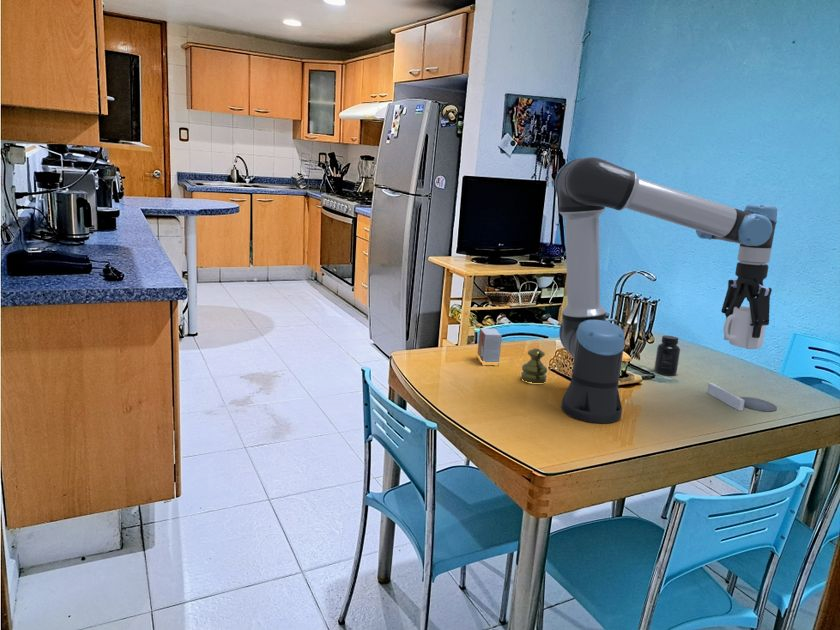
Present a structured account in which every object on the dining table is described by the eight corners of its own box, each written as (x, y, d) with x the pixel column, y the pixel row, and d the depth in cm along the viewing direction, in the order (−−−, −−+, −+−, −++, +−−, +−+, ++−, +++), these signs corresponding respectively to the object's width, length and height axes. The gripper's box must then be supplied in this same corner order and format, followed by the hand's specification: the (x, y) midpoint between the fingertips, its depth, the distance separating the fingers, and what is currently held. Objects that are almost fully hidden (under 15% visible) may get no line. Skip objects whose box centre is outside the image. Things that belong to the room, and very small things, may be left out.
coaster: (753, 411, 160) (753, 410, 160) (728, 398, 170) (728, 397, 170) (785, 411, 162) (785, 410, 162) (759, 398, 171) (759, 396, 171)
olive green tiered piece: (544, 387, 170) (547, 354, 168) (518, 382, 173) (522, 350, 170) (547, 379, 177) (550, 347, 175) (522, 375, 179) (525, 344, 177)
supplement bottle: (680, 374, 190) (686, 338, 187) (668, 377, 186) (674, 341, 183) (661, 368, 195) (667, 333, 193) (649, 371, 192) (654, 335, 189)
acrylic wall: (738, 410, 160) (740, 400, 160) (706, 392, 174) (708, 382, 173) (742, 410, 161) (744, 400, 160) (710, 392, 174) (711, 382, 173)
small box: (476, 358, 194) (479, 327, 192) (493, 358, 195) (496, 328, 192) (482, 366, 186) (484, 334, 184) (499, 366, 187) (502, 334, 185)
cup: (769, 348, 160) (775, 312, 158) (733, 350, 157) (738, 313, 154) (745, 340, 168) (751, 305, 165) (710, 342, 165) (715, 306, 162)
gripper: (795, 268, 148) (780, 355, 153) (738, 257, 168) (726, 334, 173) (769, 268, 146) (754, 355, 152) (714, 257, 167) (703, 334, 172)
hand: (739, 344), depth 162 cm, fingers closed on cup, 8 cm apart
